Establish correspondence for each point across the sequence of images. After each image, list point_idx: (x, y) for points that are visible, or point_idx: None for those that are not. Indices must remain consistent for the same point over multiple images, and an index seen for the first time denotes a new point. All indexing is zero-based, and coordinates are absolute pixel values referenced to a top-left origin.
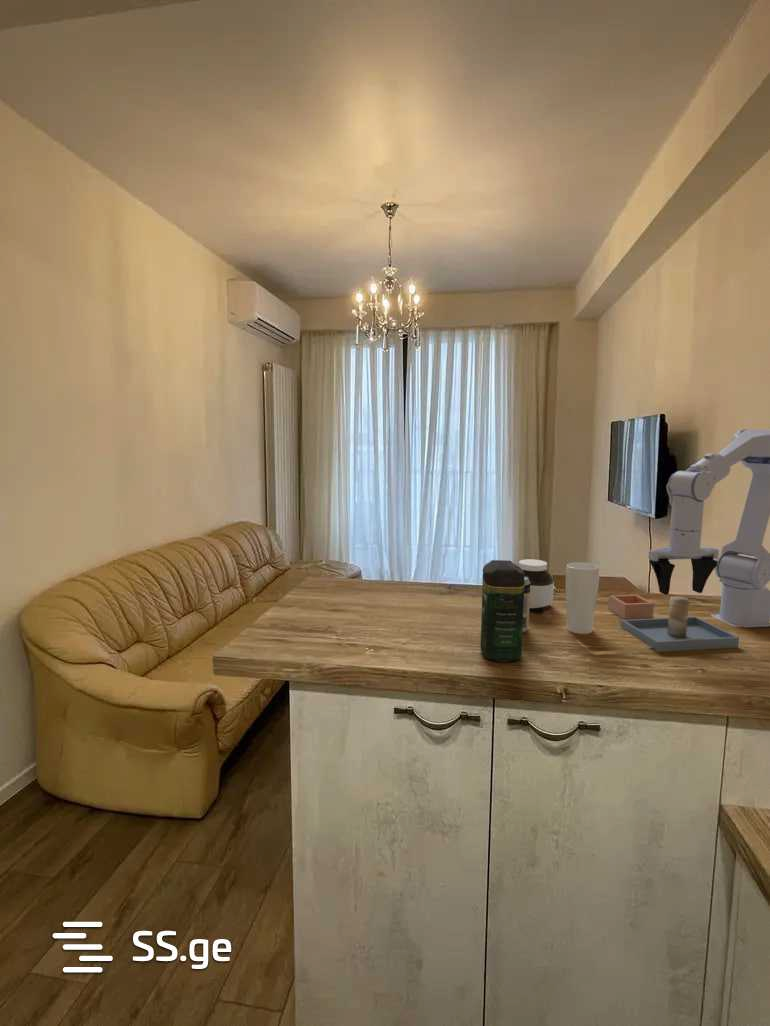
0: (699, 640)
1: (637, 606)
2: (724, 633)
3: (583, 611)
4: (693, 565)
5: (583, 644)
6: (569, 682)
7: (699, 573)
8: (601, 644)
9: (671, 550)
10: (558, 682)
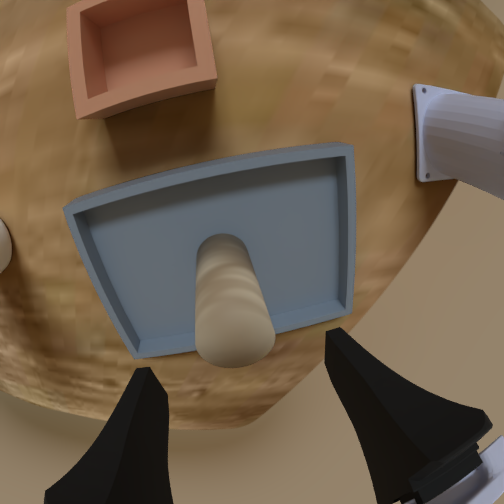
0: None
1: (135, 99)
2: (345, 279)
3: None
4: (395, 437)
5: (11, 307)
6: (34, 402)
7: (368, 430)
8: (36, 307)
9: None
10: (25, 400)
